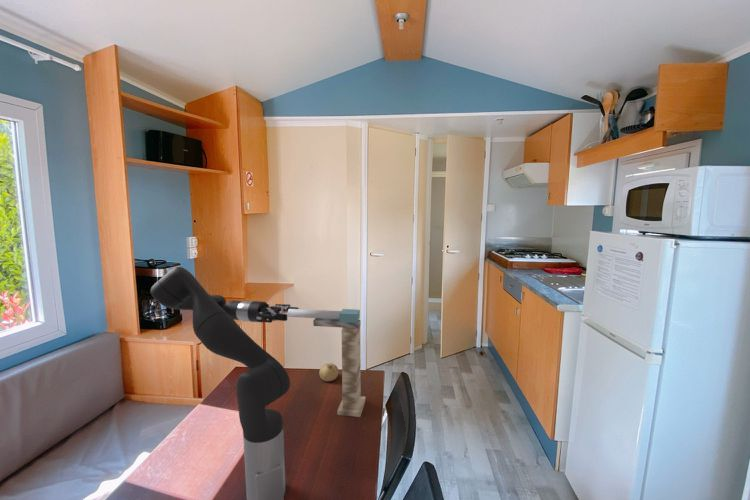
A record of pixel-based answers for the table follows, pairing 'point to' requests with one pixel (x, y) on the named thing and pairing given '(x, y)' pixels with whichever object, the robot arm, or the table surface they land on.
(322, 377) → the onion
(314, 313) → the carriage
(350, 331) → the rail stand
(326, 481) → the table surface
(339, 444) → the table surface
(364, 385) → the table surface
